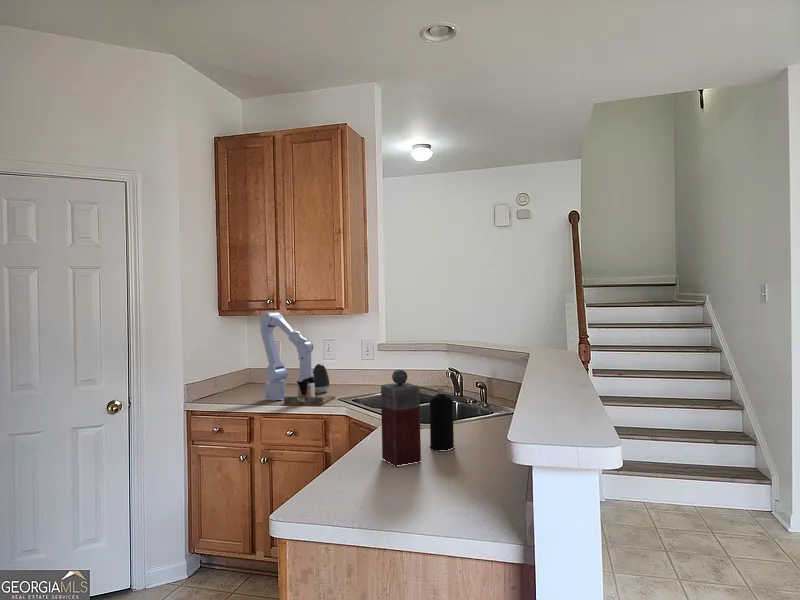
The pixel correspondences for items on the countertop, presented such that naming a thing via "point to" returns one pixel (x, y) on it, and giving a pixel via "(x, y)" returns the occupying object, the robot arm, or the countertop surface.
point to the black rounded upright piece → (320, 378)
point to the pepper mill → (400, 421)
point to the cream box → (308, 390)
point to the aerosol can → (441, 421)
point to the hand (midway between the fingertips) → (306, 393)
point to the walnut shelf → (308, 400)
